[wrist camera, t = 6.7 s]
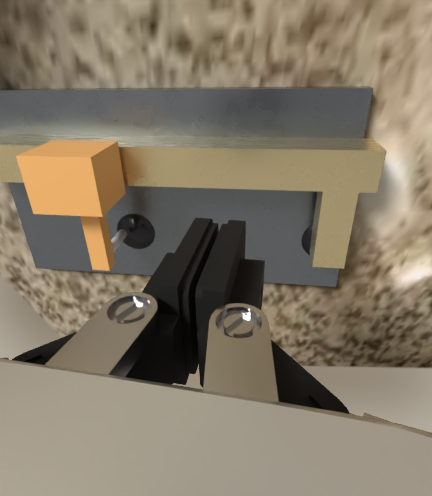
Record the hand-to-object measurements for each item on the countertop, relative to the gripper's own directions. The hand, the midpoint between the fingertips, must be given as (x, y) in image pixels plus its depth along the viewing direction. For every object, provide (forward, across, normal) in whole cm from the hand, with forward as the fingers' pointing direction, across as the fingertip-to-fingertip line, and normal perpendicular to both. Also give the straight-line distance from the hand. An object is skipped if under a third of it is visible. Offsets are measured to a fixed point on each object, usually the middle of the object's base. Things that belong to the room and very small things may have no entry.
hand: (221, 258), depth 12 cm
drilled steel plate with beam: (+13, +6, +3) cm, 15 cm away
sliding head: (+12, +10, +2) cm, 16 cm away
